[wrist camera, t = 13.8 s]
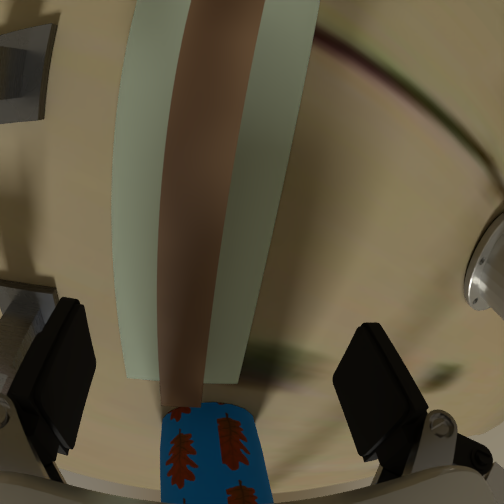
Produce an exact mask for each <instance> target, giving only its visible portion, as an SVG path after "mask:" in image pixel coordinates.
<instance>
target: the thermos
mask: <svg viewBox="0 0 504 504" xmlns="http://www.w3.org/2000/svg"><path fill="white" fill-rule="evenodd" d="M160 480H161V502H162V503H173V504H270V503H274V502H273V498H272V493H271V489H270V484H269V480H268V475H267V471H266V466H265V462H264V457H263V452H262V448H261V444H260V441H259V437H258V434H257V430H256V426H255V423H254V419H253V415H251V414H250V413H249V412H248V411H247V410H245V409H243V408H241V407H238V406H235V405H232V404H225V403H217V402H209V403H201V408H198V407H178V408H176V409H174V410H172V411H170V412H168V414H167V415H166V416H165V417H164V418H163V421H162V432H161V445H160Z"/></svg>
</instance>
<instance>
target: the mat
mask: <svg viewBox="0 0 504 504" xmlns="http://www.w3.org/2000/svg"><path fill="white" fill-rule="evenodd" d="M190 3H191V0H137V4H136V7H135V11H134V15H133V20H132V24H131V28H130V33H129V37H128V42H127V47H126V53H125V58H124V64H123V70H122V76H121V82H120V89H119V97H118V105H117V114H116V124H115V135H114V148H113V166H112V206H111V211H112V252H113V269H114V283H115V295H116V305H117V314H118V322H119V330H120V337H121V344H122V351H123V357H124V363H125V369H126V374H127V378H133V379H143V380H154V381H160V380H159V363H158V340H157V252H158V228H159V210H160V196H161V183H162V172H163V162H164V152H165V143H166V135H167V127H168V119H169V112H170V105H171V98H172V92H173V86H174V80H175V74H176V69H177V63H178V58H179V53H180V48H181V43H182V38H183V33H184V29H185V24H186V20H187V15H188V11H189V7H190ZM319 4H320V0H265V4H264V8H263V13H262V17H261V22H260V27H259V32H258V36H257V41H256V46H255V51H254V56H253V61H252V66H251V71H250V76H249V81H248V87H247V92H246V97H245V103H244V108H243V114H242V119H241V125H240V130H239V136H238V142H237V148H236V153H235V159H234V165H233V171H232V177H231V184H230V190H229V196H228V202H227V209H226V215H225V222H224V228H223V235H222V242H221V249H220V256H219V263H218V270H217V277H216V284H215V292H214V299H213V307H212V315H211V323H210V331H209V339H208V347H207V356H206V364H205V373H204V382H203V383H210V384H238V380H239V376H240V371H241V367H242V363H243V359H244V355H245V351H246V346H247V342H248V338H249V334H250V329H251V325H252V321H253V317H254V312H255V308H256V304H257V299H258V295H259V291H260V286H261V282H262V278H263V273H264V269H265V265H266V260H267V256H268V251H269V247H270V242H271V238H272V233H273V229H274V224H275V220H276V215H277V211H278V206H279V201H280V197H281V192H282V188H283V183H284V178H285V174H286V169H287V164H288V160H289V155H290V150H291V145H292V141H293V136H294V131H295V126H296V121H297V116H298V112H299V107H300V102H301V97H302V92H303V87H304V82H305V77H306V72H307V67H308V62H309V57H310V51H311V46H312V41H313V36H314V31H315V25H316V20H317V15H318V9H319Z"/></svg>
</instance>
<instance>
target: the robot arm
mask: <svg viewBox="0 0 504 504" xmlns="http://www.w3.org/2000/svg"><path fill="white" fill-rule="evenodd" d="M464 296H465V299H466V301H467V303H468V304H469V305H470V306H471V307H472V308H473V309H474V310H478V311H480V310H485V309H488V308H490V307H491V308H492V309H493V310H494V311H495V312H496V313H497V314H498V315H499V316H500V317H501V318H502V319H503V320H504V213H502V214H501V215H500V216H499V217H498V218H497V219H496V220H494V222H493V223H492V224H491V225H490V227H489V228H488V229H487V231H486V232H485V234H484V235H483V237H482V238H481V240H480V242H479V244H478V245H477V247H476V249H475V252H474V254H473V256H472V258H471V261H470V264H469V266H468V269H467V273H466V277H465V283H464ZM95 369H96V358H95V354H94V350H93V346H92V342H91V337H90V333H89V328H88V323H87V318H86V313H85V308H84V305H82V304H80V302H79V300H78V299H73V298H67V297H62V298H61V299H60V300H59V302H58V304H57V305H56V307H55V309H54V310H53V312H52V314H51V315H50V317H49V319H48V321H47V322H46V324H45V326H44V328H43V330H42V331H41V332H39V333H37V335H36V336H35V338H34V340H33V341H32V343H31V345H30V347H29V349H28V351H27V353H26V355H25V357H24V359H23V361H22V363H21V365H20V367H19V369H18V371H17V373H16V375H15V377H14V379H13V381H12V384H11V386H10V388H9V390H8V392H7V395H4V394H2V393H0V504H173V503H162V502H153V501H146V500H139V499H133V498H127V497H121V496H116V495H110V494H105V493H101V492H96V491H92V490H87V489H83V488H79V487H75V486H72V485H68V484H67V483H66V481H65V480H64V478H63V476H62V474H61V472H60V471H59V469H58V467H57V465H56V463H55V461H56V457H57V453H60V454H64V455H67V456H68V452H69V449H73V448H74V446H75V442H76V437H77V433H78V429H79V425H80V421H81V417H82V414H83V410H84V406H85V403H86V399H87V396H88V392H89V389H90V385H91V382H92V379H93V375H94V372H95ZM333 385H334V387H335V390H336V393H337V396H338V398H339V401H340V404H341V406H342V409H343V412H344V415H345V418H346V420H347V423H348V426H349V429H350V432H351V434H352V437H353V440H354V443H355V446H356V449H357V452H358V454H359V455H360V456H362V457H363V459H364V462H368V461H372V460H376V459H378V460H379V463H380V464H379V467H378V469H377V472H376V474H375V476H374V479H373V481H372V483H371V485H370V486H368V487H364V488H360V489H356V490H352V491H347V492H343V493H338V494H333V495H328V496H323V497H317V498H311V499H305V500H298V501H290V502H281V503H270V504H504V469H503V468H502V467H501V466H500V465H499V464H497V463H496V462H494V463H493V458H492V454H491V453H490V451H489V449H488V448H487V447H485V446H484V445H482V444H480V443H478V442H476V441H473V440H471V439H469V438H467V437H465V436H463V435H461V434H459V433H457V424H456V422H455V420H454V419H453V417H452V416H451V415H450V414H449V413H447V412H445V411H443V410H433V411H430V412H429V413H427V411H426V410H427V409H428V408H429V407H428V405H427V403H426V401H425V399H424V398H423V396H422V394H421V392H420V390H419V389H418V387H417V385H416V383H415V382H414V380H413V378H412V376H411V375H410V373H409V371H408V369H407V368H406V366H405V364H404V363H403V361H402V359H401V357H400V356H399V354H398V352H397V351H396V349H395V347H394V346H393V344H392V343H391V341H390V339H389V338H388V336H387V334H386V333H385V331H384V329H383V328H382V326H381V325H380V324H379V323H363V324H362V325H361V326H360V327H358V328H357V330H356V332H355V334H354V336H353V338H352V340H351V342H350V344H349V346H348V348H347V350H346V352H345V354H344V356H343V358H342V360H341V361H340V363H339V365H338V367H337V369H336V371H335V373H334V375H333Z"/></svg>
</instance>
